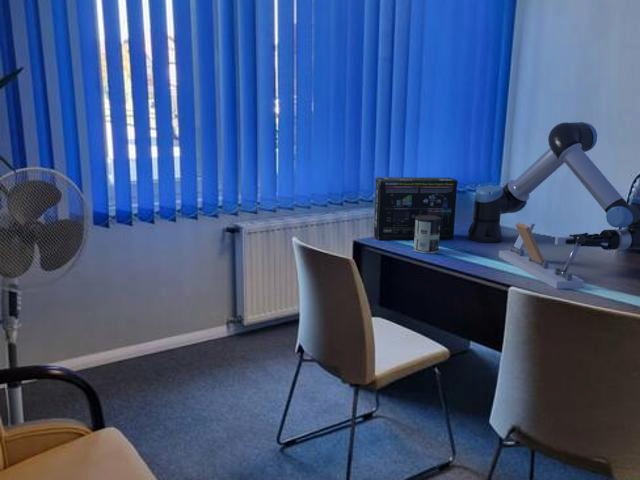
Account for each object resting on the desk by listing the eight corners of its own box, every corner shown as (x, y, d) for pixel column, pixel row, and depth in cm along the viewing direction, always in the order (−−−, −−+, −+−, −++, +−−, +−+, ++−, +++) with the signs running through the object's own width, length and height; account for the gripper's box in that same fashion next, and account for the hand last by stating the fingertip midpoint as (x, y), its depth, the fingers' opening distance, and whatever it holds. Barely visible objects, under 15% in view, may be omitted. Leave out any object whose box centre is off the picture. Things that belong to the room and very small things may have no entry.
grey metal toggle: (560, 275, 192) (581, 235, 190) (569, 279, 187) (590, 238, 185) (554, 272, 191) (574, 232, 189) (562, 276, 186) (583, 235, 184)
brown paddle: (535, 259, 207) (518, 221, 202) (547, 264, 200) (529, 226, 195) (531, 261, 207) (514, 224, 202) (543, 267, 200) (525, 229, 195)
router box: (446, 234, 257) (451, 177, 251) (454, 240, 247) (460, 180, 240) (371, 234, 254) (373, 176, 247) (375, 240, 243) (378, 179, 236)
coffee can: (436, 247, 234) (438, 214, 230) (440, 254, 224) (443, 220, 220) (411, 246, 234) (413, 214, 230) (415, 253, 224) (417, 219, 220)
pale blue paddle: (514, 251, 220) (528, 222, 218) (521, 254, 216) (536, 225, 214) (510, 250, 220) (525, 220, 218) (517, 253, 215) (532, 223, 213)
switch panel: (521, 255, 224) (522, 244, 223) (583, 287, 187) (585, 274, 185) (498, 256, 222) (499, 245, 221) (556, 288, 185) (558, 275, 184)
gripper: (624, 253, 201) (565, 255, 197) (601, 244, 214) (545, 246, 210) (627, 233, 199) (568, 235, 195) (604, 225, 212) (547, 226, 208)
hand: (556, 240), depth 202 cm, fingers closed
